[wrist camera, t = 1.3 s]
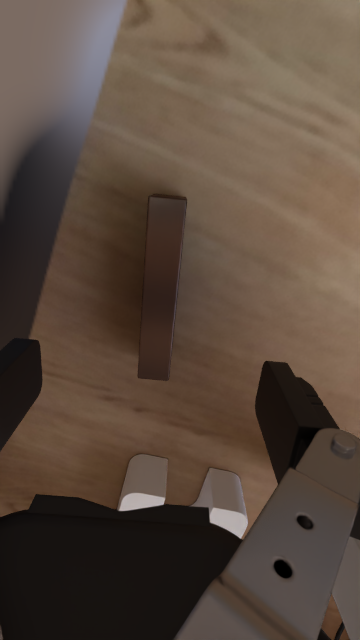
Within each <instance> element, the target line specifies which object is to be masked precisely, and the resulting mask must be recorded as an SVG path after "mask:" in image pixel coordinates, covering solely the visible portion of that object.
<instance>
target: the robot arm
mask: <svg viewBox="0 0 360 640" xmlns="http://www.w3.org/2000/svg"><path fill="white" fill-rule="evenodd" d="M41 387H42V366H41V351H40V344H39V341H38V340H32V339H20V338H14V339H13V340H12V341H10V342H9V343H8V344H7V345H6V346H5V347H4V348H3V349H2V350H1V351H0V451H1V450H2V448H3V447H4V445H5V444H6V442H7V441H8V439H9V438H10V437H11V435H12V434H13V432H14V431H15V429H16V428H17V426H18V425H19V423H20V422H21V421H22V419H23V418H24V416H25V415H26V413H27V412H28V410H29V409H30V407H31V406H32V405H33V403H34V402H35V400H36V399H37V397H38V396H39V394H40V391H41ZM255 410H256V416H257V419H258V422H259V426H260V429H261V432H262V435H263V438H264V441H265V444H266V448H267V451H268V454H269V457H270V460H271V463H272V466H273V470H274V473H275V476H276V479H277V482H278V486H277V487H276V489H275V491H274V492H273V494H272V495H271V497H270V498H269V500H268V502H267V503H266V505H265V506H264V508H263V509H262V511H261V513H260V514H259V516H258V517H257V519H256V520H255V522H254V524H253V525H252V527H251V528H250V530H249V531H248V533H247V535H246V536H245V538H244V539H243V540H242V539H240V538H239V537H238V536H236V535H235V534H233V533H232V532H230V531H228V530H227V529H224V528H222V527H220V526H218V525H216V524H213V523H210V517H209V508H208V507H195V506H182V505H169V504H166V505H159V506H153V507H147V508H140V509H134V510H128V511H118V510H115V509H112V508H109V507H106V506H103V505H100V504H97V503H94V502H91V501H88V500H85V499H82V498H78V497H65V496H52V495H39V494H36V495H35V497H34V499H33V501H32V504H31V506H30V508H29V509H28V510H22V511H18V512H15V513H11V514H8V515H5V516H3V517H0V640H331V639H330V638H329V637H328V636H327V634H326V633H325V632H324V631H323V630H322V629H321V626H322V622H323V619H324V616H325V613H326V610H327V607H328V603H329V600H330V597H331V594H332V591H333V587H334V584H335V581H336V578H337V575H338V571H339V568H340V565H341V562H342V559H343V556H344V552H345V549H346V546H347V543H348V540H349V536H350V537H352V538H355V539H358V540H360V439H359V438H358V437H356V436H355V435H353V434H351V433H349V432H346V431H343V430H340V429H339V427H338V426H337V424H336V423H335V421H334V419H333V418H332V416H331V415H330V413H329V412H328V410H327V409H326V407H325V406H323V402H322V401H321V399H320V398H318V394H317V393H316V391H315V390H314V388H313V387H312V386H311V385H310V384H309V383H307V382H306V381H305V380H304V379H302V378H300V377H295V375H294V373H293V372H292V370H291V368H290V367H289V365H288V363H284V362H273V361H265V362H264V364H263V367H262V372H261V377H260V381H259V386H258V391H257V395H256V402H255Z"/></svg>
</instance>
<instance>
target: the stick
mask: <svg viewBox="0 0 360 640" xmlns="http://www.w3.org/2000/svg"><path fill="white" fill-rule="evenodd" d="M186 205H187V199H186V197H181V196H172V195H162V194H152V195H150V196H149V197H148V212H147V229H146V245H145V262H144V279H143V296H142V313H141V329H140V346H139V363H138V378H141V379H152V380H163V381H168V380H169V374H170V364H171V354H172V344H173V334H174V324H175V314H176V305H177V295H178V285H179V275H180V265H181V255H182V245H183V235H184V225H185V215H186Z"/></svg>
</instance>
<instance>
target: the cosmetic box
mask: <svg viewBox="0 0 360 640" xmlns="http://www.w3.org/2000/svg"><path fill="white" fill-rule="evenodd" d="M332 595H333V598H334V600H335V603H336V605H337V608H338V611H339V613H340V615H341V618H342V620H343V623H344V626H345V629H346V631H347V634H348V637H349V639H350V640H360V540H358V539H355V538H352V537H350V536H349V540H348V543H347V546H346V549H345V552H344V556H343V559H342V562H341V565H340V568H339V571H338V575H337V578H336V581H335V584H334V587H333V591H332Z"/></svg>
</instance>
